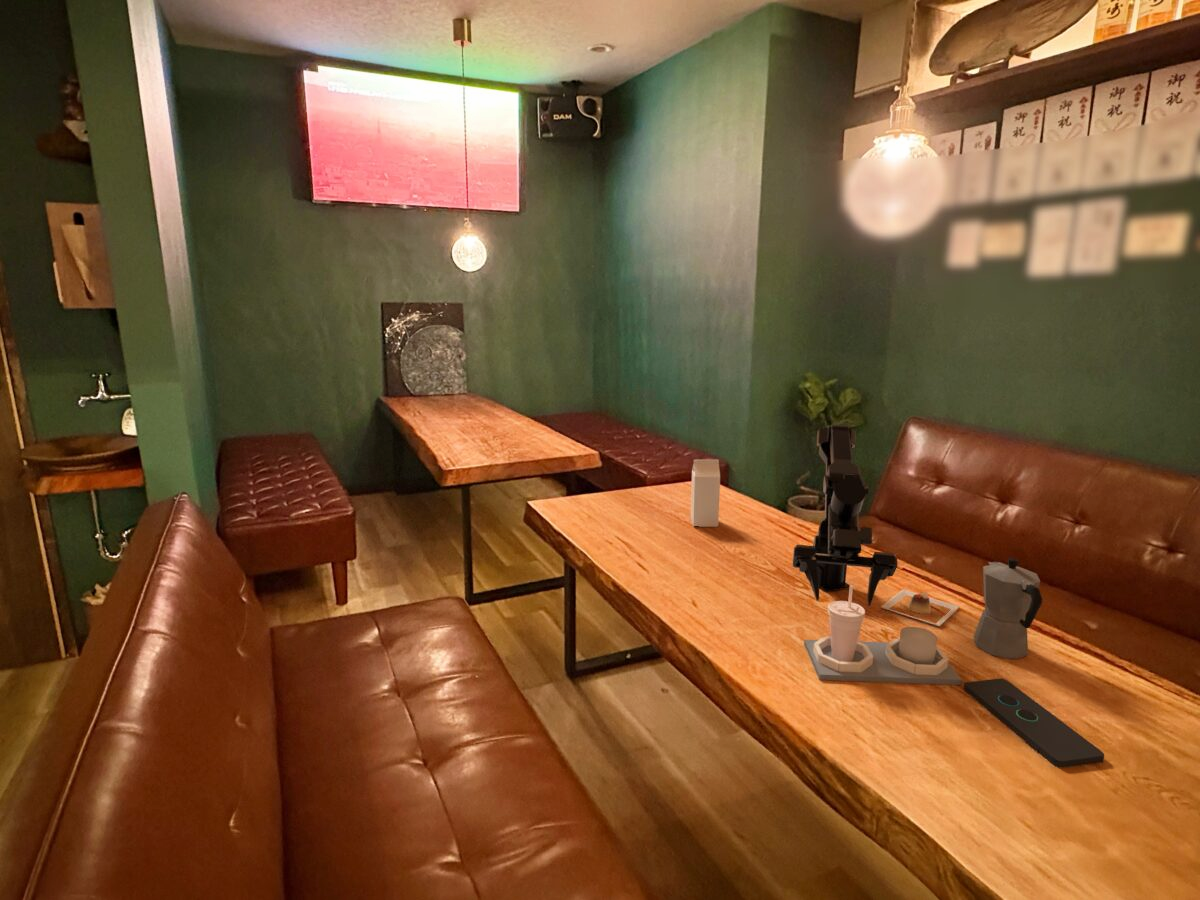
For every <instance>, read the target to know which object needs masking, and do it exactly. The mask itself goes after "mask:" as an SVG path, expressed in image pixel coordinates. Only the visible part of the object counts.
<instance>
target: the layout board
mask: <svg viewBox="0 0 1200 900" xmlns="http://www.w3.org/2000/svg"><path fill="white" fill-rule="evenodd" d="M899 634H900V635H899V638H894V639H893V640H891V641H890V642H887V641H885V642H884V641H861V640H860V641H857V645H856V649H855V653H854V657H853V660H852V661H851V662H842V661H838V660H835V659H834V658H833V657H832V651H831V635H830V636H829V635H827V636H823V637H822V638H820V639H803V644H804V648H805V650H806V652H807V654H808V657H809V659H810V661H811V664H812V666H813V668H814V671H815V673H816V676H817V678H818V680H820V681H821V680H823V681H844V682H845V681H847V682H874V683H894V684H895V683H900V684H927V685H947V686H948V685H949V686H950V685H951V686H954V685H956V686H962V682H963V680H962V678H961V677H960V675H959V674H958V673H957V672H956V670H955V669H954V668H953V666H952V665H951V664H950V663H949V657H948V656H947V655H946V654H945V653H944V652H943V650H942V649H941V648H940V647H939V646H937V645H938V636H937V635H936V633H934V632H933V631H931V630H928V629H926V628H922V627H919V626H905V627H903V628H901V629H900V631H899Z"/></svg>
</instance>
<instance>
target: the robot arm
mask: <svg viewBox="0 0 1200 900" xmlns="http://www.w3.org/2000/svg"><path fill="white" fill-rule="evenodd" d="M856 437H857V430H856V429H853V428H852V426H849V425H847V424H846V425H845V424H830V425H828V426H827V427H822V428H818V430H817V434H816V446H817V447H819V451H818V452H819V453H818V454H819V455H818V456H819V457H820V459H821V460H822V461H823V463H824V464H825V475H824V476H823V484H822V485H823V486H822V489H823V490H822V492H823V494H824V495H825V498H824V500H825V501H824V519H823V520H822V521H821V522H820V524H819V526H818V529H817V534H815V535H814V537H813V543H812V545H804V544H796V545H795V546H794V547H793V553H792V555H793V556H792V567H794V568H797V569H798V571H799V572H801V573H804V574H805V577H806V579H807V580H808V582H809V584H810V586H811V587H810V588H811V589H812V592H813V595H814V598H815V600H816V602H817V601H820V589H822V590H824V591H826V592H832V591H837V590H842V589H843V590H844V589H849V588H850V585H851V584H849V583H847V582H846V579H847V568H848V566H850V567H851V566H852V567H861V568H870V574H869V578H868V588H867V597H866V598H867V599H866V601H867V607H871V604H872V603H873V602H872V601H873V599H874V595H875V593H876V589H877V587H878V584H879V583H880V581H885V580H887V577H893V576H894V574H895V573H896V570H897V568H898V557H897V556H896V554H895V553H893V552H884V551H874V552H873V556H872V557H870V556H860V554H861V553H862V545H869V546H870V545H872V543H873V528H872V527H869V526H868V527H867V526H862V527H860V528H859V514H860V513H861V511H862V507H863V504H864V501H865V497H866V495H869V487H868V485H867V483H866V482H865V479H864V477H861V469H860V467H858V466H857V465H856V464H854V462H853V456H852V454H853V453H852V449H853V448H855V446H856V440H857V439H856ZM859 529H860V530H859Z"/></svg>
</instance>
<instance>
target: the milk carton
mask: <svg viewBox="0 0 1200 900" xmlns="http://www.w3.org/2000/svg"><path fill="white" fill-rule="evenodd" d="M719 463H720V460H719V459H693V464H692V469H691V485H690V487H691V491H690V494H691V496H690V521H691V524H692V526H693V527H694V526H699V527H700V528H703V527H707V528H710V527H712V528H715V527H716V528H717V527H719V518H720V517H719V515H720V492H721V491H720V489H721V470H720V464H719ZM699 527H698V528H699Z"/></svg>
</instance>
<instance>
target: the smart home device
mask: <svg viewBox="0 0 1200 900" xmlns="http://www.w3.org/2000/svg"><path fill="white" fill-rule="evenodd" d="M963 690H964V692H966V694H968V695H969V694H970V695H971V696H972V698H973V699H974V700H975V701H976V702H977V701H978V703H979V704H980V705H981V706H984V707H983V708H984V709H985V710H986V711H988V712H989V713H990V714H992V716H994V717H995V718H996V719H997V720H999V721H1000V722H1001V724H1002V723H1003V725H1004V726H1006V727H1007V728H1008V729H1010V730H1011V731H1012V732H1013V733H1014V734H1016V735H1017V736H1018V737H1019V739H1022V740H1023V741H1024V742H1025V743H1026V744H1027V745H1028V746H1030V747H1031V748H1032V749H1033V750H1035V752H1037V753H1038V754H1039V755H1040V756H1041V757H1043V758H1044V759H1045V760H1046V759H1047V760H1046V761H1048V762H1049V763H1050V764H1051V765H1052V766H1054V767H1057V768H1058V769H1063V768H1070V767H1077V766H1078V767H1079V766H1085V765H1093V764H1100V763H1104V759H1105V753H1104V752H1103V751H1102V750H1101V749H1100V748H1098V747H1096V746H1095V745H1094V744H1093V743H1091V742H1090V741H1089V740H1087V739H1086V738H1085V737H1083V736H1082V735H1081V734H1079V733H1078V732H1077V731H1076V730H1075V729H1073V728H1072V727H1070V726H1068V724H1066V723H1065V722H1063V721H1062V720H1061V719H1060V718H1059V717H1057V716H1055V715H1054V714H1053V713H1052V712H1051V711H1049V710H1048V709H1046V708H1044V707H1043V706H1042V705H1041V704H1040V703H1038V702H1037V701H1036V700H1034V699H1033V698H1031V697H1030V696H1028V694H1026V693H1025V692H1024V691H1022V690H1021V689H1019V688H1018V687H1017V686H1016V685H1014V684H1013V683H1012V682H1010V681H1009V680H1007V679H1005V678H1003V677H1002V678H994V679H984V680H976V681H975V680H974V681H966V682H964V685H963ZM970 695H969V696H970ZM971 696H970V697H971Z"/></svg>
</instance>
